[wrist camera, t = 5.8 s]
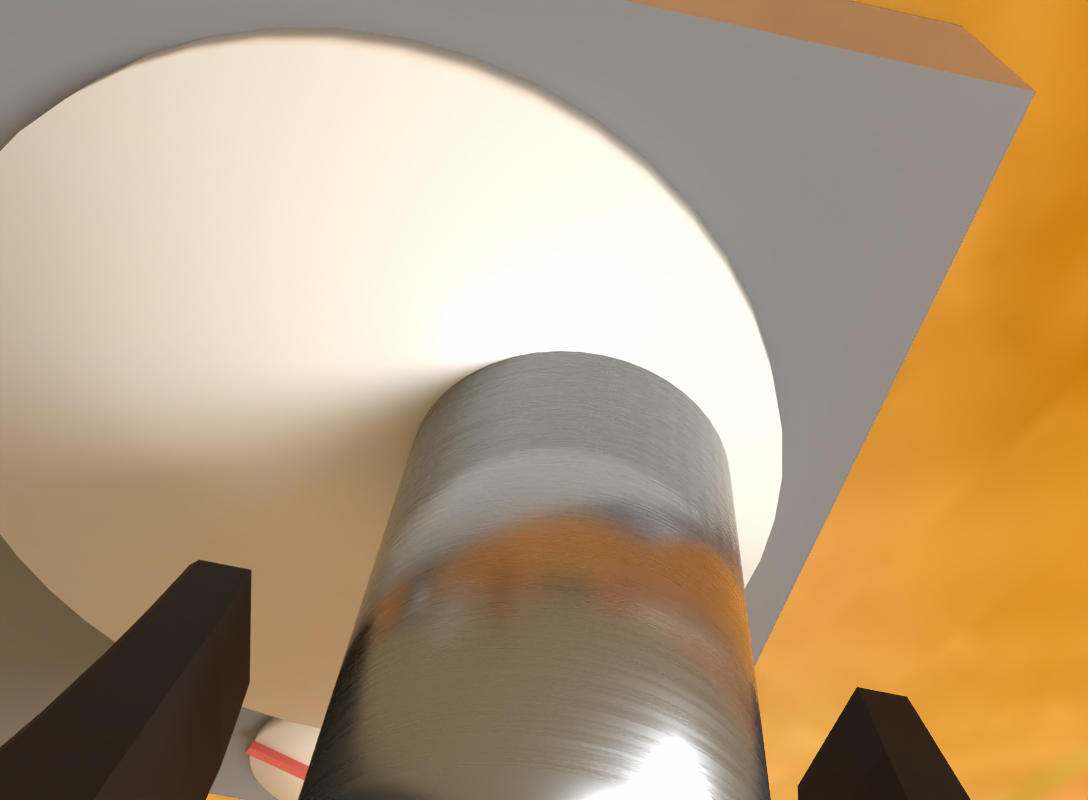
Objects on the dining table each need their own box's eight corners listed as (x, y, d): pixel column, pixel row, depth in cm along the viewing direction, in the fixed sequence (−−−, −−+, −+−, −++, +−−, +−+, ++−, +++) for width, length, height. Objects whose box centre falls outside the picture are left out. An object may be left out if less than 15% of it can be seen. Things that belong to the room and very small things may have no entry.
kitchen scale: (650, 752, 23) (652, 912, 20) (66, 641, 22) (-27, 788, 19) (961, 25, 13) (1062, 114, 10) (-63, -203, 13) (-296, -186, 9)
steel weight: (703, 613, 15) (735, 1057, 10) (412, 583, 15) (299, 1004, 10) (758, 368, 12) (839, 803, 7) (405, 335, 12) (248, 736, 7)
